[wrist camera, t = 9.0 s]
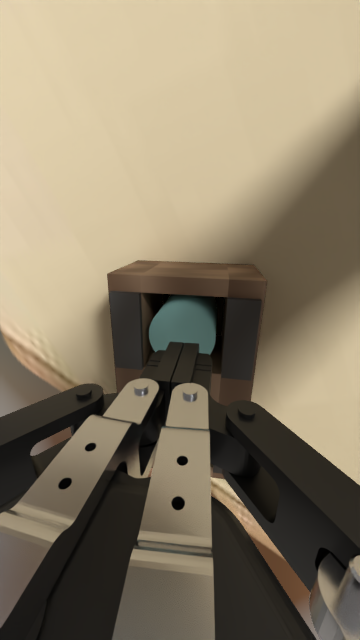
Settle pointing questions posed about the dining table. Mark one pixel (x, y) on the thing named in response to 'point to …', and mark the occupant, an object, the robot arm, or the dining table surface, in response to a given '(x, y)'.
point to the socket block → (189, 279)
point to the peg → (185, 322)
